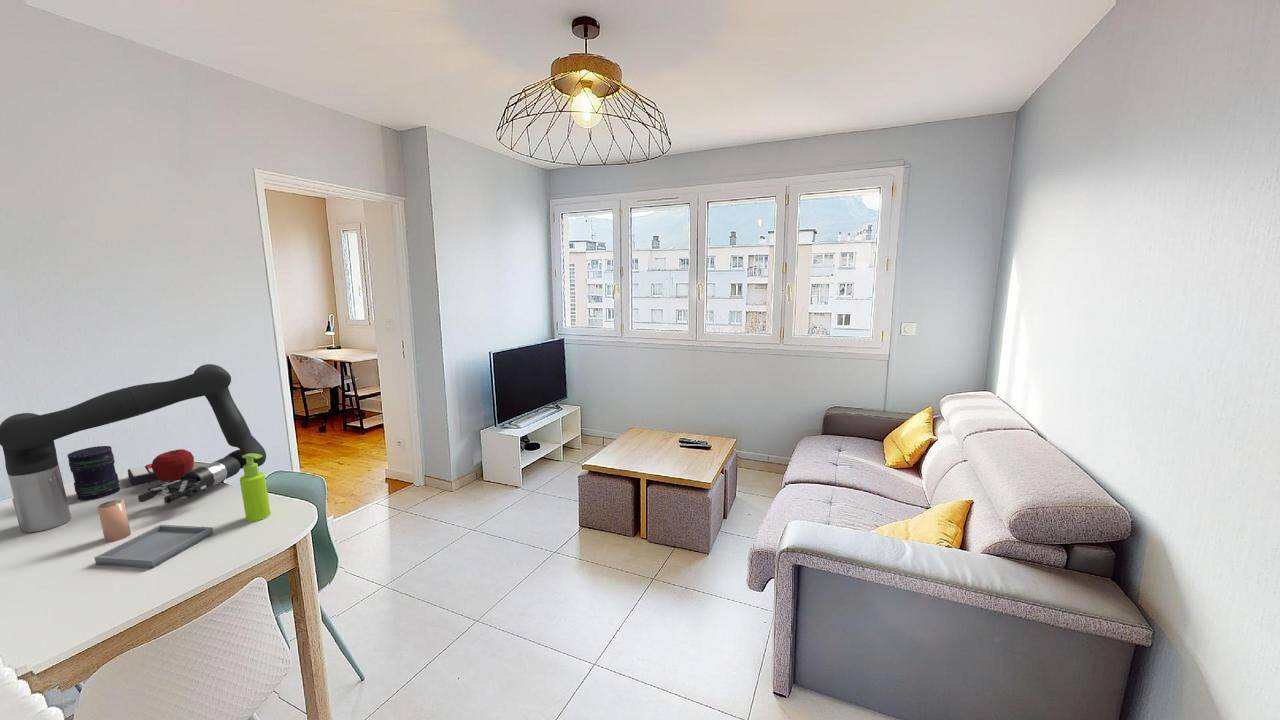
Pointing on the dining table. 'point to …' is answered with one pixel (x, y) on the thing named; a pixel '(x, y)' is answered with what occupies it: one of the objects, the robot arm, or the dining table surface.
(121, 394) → the robot arm
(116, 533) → the cup
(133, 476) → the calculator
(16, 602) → the dining table surface
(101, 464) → the storage jar
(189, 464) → the apple
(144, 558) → the tray
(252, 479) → the soap dispenser
